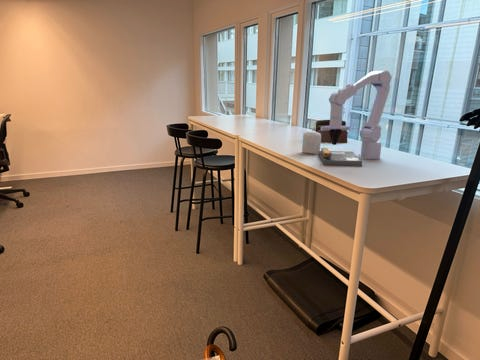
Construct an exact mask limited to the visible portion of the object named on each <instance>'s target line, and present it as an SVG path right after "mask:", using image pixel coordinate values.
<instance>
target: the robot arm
mask: <svg viewBox="0 0 480 360" xmlns="http://www.w3.org/2000/svg"><path fill="white" fill-rule="evenodd" d="M392 79H393V77H392V75H391V72H390V71H388V70H373V71H372V70H371V72H370V71H369V72H368V73H367V74H366V75H365V76H363V77H362V78H360V79H359V80H357V81H356V82H355V83H347V84H346V85H345V86H344V87H343V88H341V89H340V88H339V89H338V91H337V92H333V93H331V94H330V96H329V98H328V101H329V104H330V113H329V114H330V115H329V120H330V126H321V131H324V130H329V134H330V136H331V140H332V143H331V145H333V146H337V144H338V143H337V140H338V138H339V136H340V134H341V133H342V131H341V130H347V131H351V130H350V129H351V125H346V126H341V124H342V121H343V113H344V112H343V109H344V104H345V103H346V101H347V100H349V99H350V98H352V97H353V96H355V95H356V94H357V93H358V91H359V90H360V89H362V88H364V87H366V86H367V85H370V84H371V86H373V87H374V88H375V90H376V91H377V92H376V95H375V98H374V101H373V104H372V107H371V111H370V113H369V116H368V120H367V121H366V122H365V123H364V124H363V126H362V128H361V130H360V131H359V136H360V138H361V139H360V140H361V148H360V154H358V155H357V156H358V157H359V158H360V159H361V160H362V159H363V160H365V159H366V160H380V159H381V151H382V142H381V141H379V140H380V139H381V135H382V127H381V125H380V121H381V119H382V115H383V112H384V110H385V109H384V108H385V106H386V103H387V100H388V96H389V93H390V91H391V90H390V88H391V81H392Z"/></svg>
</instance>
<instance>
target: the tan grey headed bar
mask: <svg viewBox="0 0 480 360" xmlns="http://www.w3.org/2000/svg"><path fill="white" fill-rule="evenodd" d="M320 151H321V152H322V154H323V155H324V157H328V158H331V155H332V153H330V151H331V150H330V149H329V148H328V147H320Z"/></svg>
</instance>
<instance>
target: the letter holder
mask: <svg viewBox="0 0 480 360" xmlns="http://www.w3.org/2000/svg"><path fill="white" fill-rule="evenodd" d="M321 126H330V119H320V120H317V121H316V122H315V130H314V132H318V133H320V134H321V143H324V142H329V144H332V140H331V136H330V134H329V130H324V131H321ZM341 126H347V122H346V121H345V120H342V124H341ZM341 131H342V133H341V134H340V136H339V138H338V140H337V143H336V144H347V143H348V135H349V132H348V131H349V130H341Z"/></svg>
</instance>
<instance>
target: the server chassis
mask: <svg viewBox="0 0 480 360" xmlns="http://www.w3.org/2000/svg"><path fill="white" fill-rule="evenodd" d="M329 151H330V153H332V155H331V158H328V157H324V155H323V154H322V152H321V150H320V151H319V154H317V155H318V156H317V157H319V159H320V161H321V164H322V165H323V166H336V167H337V166H342V167H343V166H345V167H362V166H363V160H362V158H361V157H359V156H358V155H357V154H356V153H354V151H344V150H343V151H341V150H340V151H339V150H336V151H335V150H329Z"/></svg>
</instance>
